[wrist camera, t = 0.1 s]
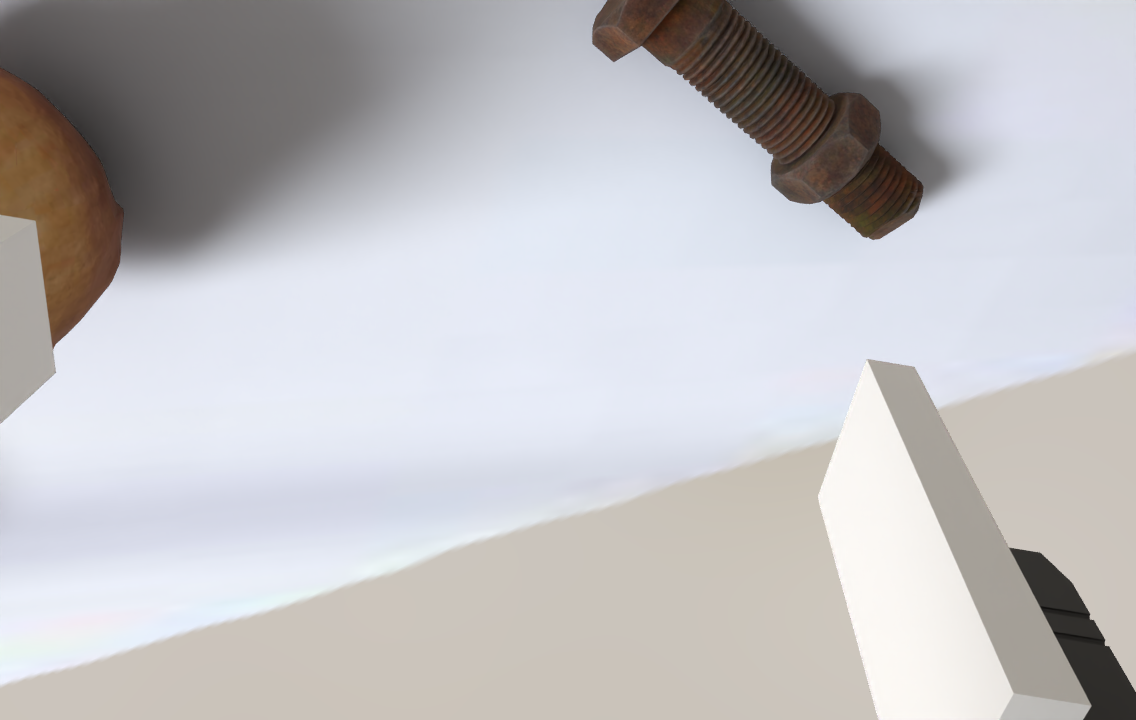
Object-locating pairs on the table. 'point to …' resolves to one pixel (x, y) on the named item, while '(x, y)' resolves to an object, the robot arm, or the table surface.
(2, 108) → the butternut squash
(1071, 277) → the table surface
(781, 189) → the bolt
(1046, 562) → the robot arm
